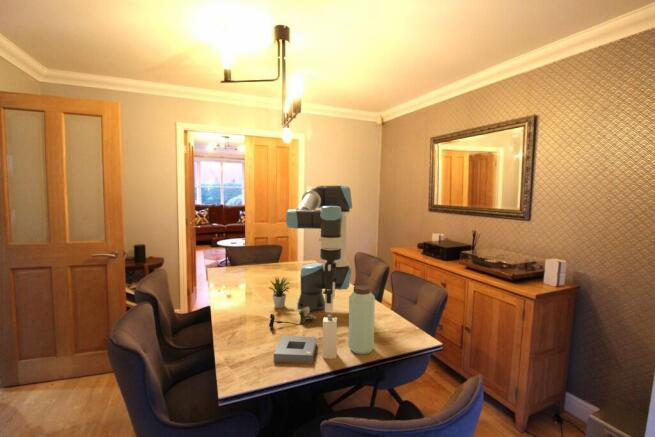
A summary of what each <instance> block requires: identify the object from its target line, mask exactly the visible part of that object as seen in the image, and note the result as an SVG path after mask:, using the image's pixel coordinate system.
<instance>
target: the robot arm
mask: <svg viewBox="0 0 655 437" xmlns="http://www.w3.org/2000/svg"><path fill="white" fill-rule="evenodd" d="M351 209H353V201H352V193H351V187H350V186H348V185H316V186H314V187H311V188H310V189H308V190H306V191H305V192H304V193H303V195H302V196H301V201H300V203H299V205H298V206H297V207H296V209H294V208H293V209H288V210H287V211H286V214H285V224H286V227H287V228H289V229H296V230H297V229H300V230H301V229H303V230H304V229H309V230H310V229H312V230H313V229H314V230H317V229H318V230H319V229H320V238H319V239H318V242H320V250H319V251H320V253H319V254H320V259H321V260H324V261H326V262H325V263H324V265H323V263H322V262H313V263H307V264H305V265H302V266H301V268H300V273H299V276H300V294H299V298H298V301H297V303H296V304H297V308H296V309H297V310H301V309H302V308H306V307H309V313H312V314H313V313H319V312H323V311H324V312H325V313H333V312H334V300H335V299H336V290H339V291H341V290H348V289H349V287H350V282H351V276H352V267H350V264H349V262H348V261H347V220H348V219H347V216H348V214H349V213H350V211H351ZM323 290H324V291H323ZM309 313H308V314H309Z"/></svg>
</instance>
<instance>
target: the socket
mask: <svg viewBox="0 0 655 437" xmlns="http://www.w3.org/2000/svg"><path fill="white" fill-rule="evenodd" d="M275 348H276V349H275V350H274V352H273V362H275V363H276V362H277V363H297V364H298V363H299V364H313V360H314V356H315V351H316V348H317V337H316V336H312V337H311V336H293V335H292V336H291V335H282V336H281V337H280V340H279V342H278V343H277V346H276V347H275Z"/></svg>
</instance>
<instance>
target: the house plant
mask: <svg viewBox="0 0 655 437" xmlns="http://www.w3.org/2000/svg"><path fill="white" fill-rule="evenodd" d="M274 278H275V279H274V280H275V282H273V281H272V280H270V283H271V284H272V285H273V287H270V286H269V287H267V289H270V290H272V291H273V294H272V299H273V304H274V308H277V309H281V308H284V307H285V304H286V297H287V294H286V293H285V292H288V293H289V289H291V287H292V285H291V286H290V285H289V284H291V282H292V281H293V279H291V280H288V277H285V276H283V278H282V279H281V281H280V279H279V278H280V277H276V276H275V277H274ZM287 280H288V281H287ZM287 285H289V286H287Z"/></svg>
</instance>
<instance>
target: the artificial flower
mask: <svg viewBox="0 0 655 437" xmlns="http://www.w3.org/2000/svg"><path fill="white" fill-rule="evenodd" d="M297 310H298V309H297ZM297 312H298V315H299V318H300V321H299V323H295V322H290V321H282V320H279V321H278V320H277V321H275V318H276V317H275V314H273V313H271V314H270V315H269V319H270V321H269V323H268V327H269V329H270V330H272V329H273V328H274V324H275V323H277V324H284V323H285V324H291V325H295V326H300V325H302V324H304V323H305V322H306V319H308V320H317V319H318V316H316V315H313V314H309V307H306V308H302V309H301V310H298V311H297ZM308 314H309V315H308Z"/></svg>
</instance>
